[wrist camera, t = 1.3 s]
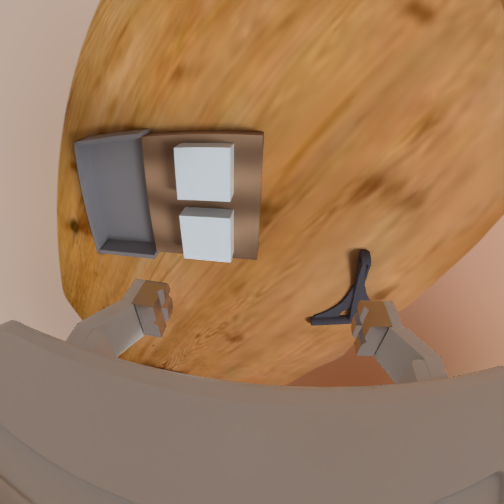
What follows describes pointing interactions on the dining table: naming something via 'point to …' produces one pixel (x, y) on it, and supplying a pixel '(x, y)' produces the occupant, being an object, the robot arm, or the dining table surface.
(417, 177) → the dining table surface
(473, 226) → the dining table surface
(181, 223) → the tile
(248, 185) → the board
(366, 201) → the dining table surface
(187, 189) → the tile
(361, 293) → the bracket
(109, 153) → the tray
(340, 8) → the dining table surface
